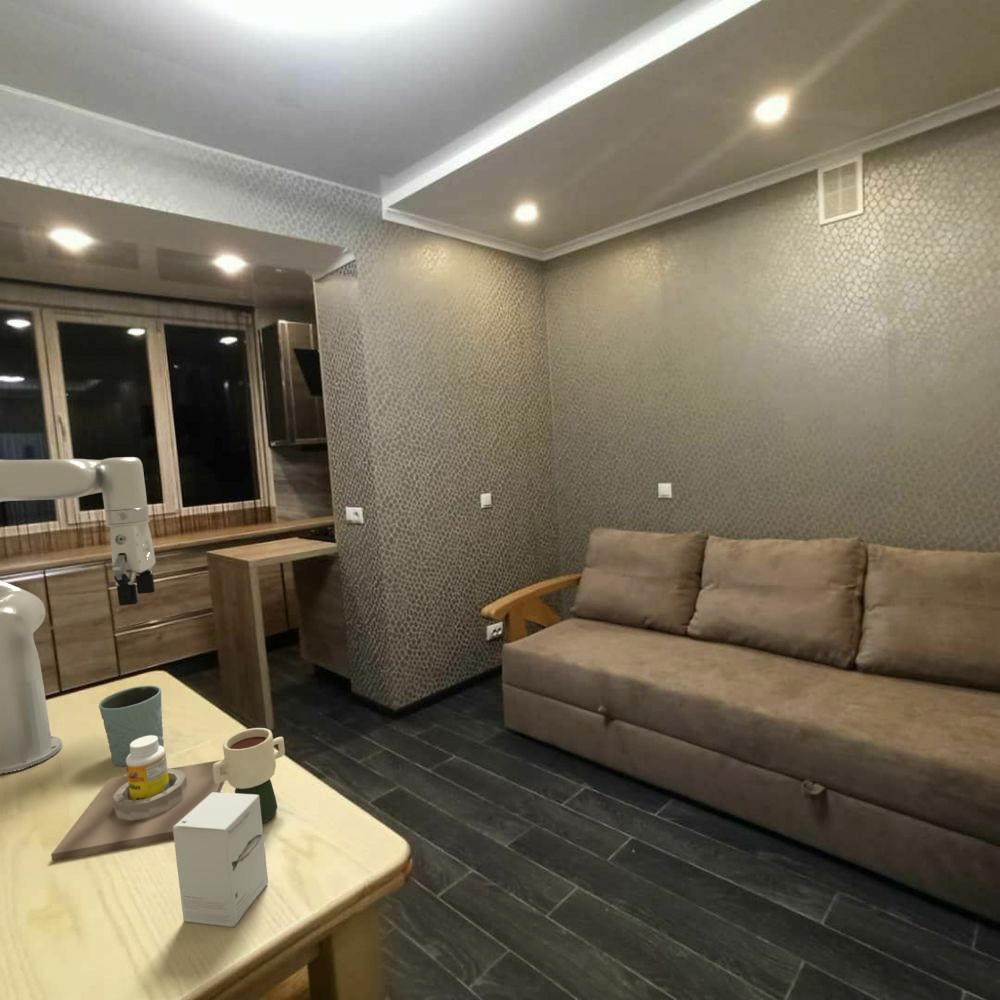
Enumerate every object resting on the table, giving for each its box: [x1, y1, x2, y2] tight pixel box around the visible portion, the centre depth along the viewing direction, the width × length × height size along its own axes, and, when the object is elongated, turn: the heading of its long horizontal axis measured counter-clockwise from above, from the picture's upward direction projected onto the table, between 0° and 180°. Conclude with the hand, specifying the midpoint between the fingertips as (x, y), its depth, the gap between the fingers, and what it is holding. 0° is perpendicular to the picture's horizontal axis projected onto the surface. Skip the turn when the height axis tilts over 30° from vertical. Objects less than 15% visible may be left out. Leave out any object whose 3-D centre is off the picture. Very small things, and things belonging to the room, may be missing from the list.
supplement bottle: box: [125, 735, 170, 801], centre depth 96 cm, size 6×6×10 cm
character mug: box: [213, 727, 286, 824], centre depth 91 cm, size 11×7×13 cm, turn 134°
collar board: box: [50, 759, 226, 862], centre depth 96 cm, size 20×20×4 cm
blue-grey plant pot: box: [98, 684, 165, 768], centre depth 113 cm, size 10×10×12 cm
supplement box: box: [173, 792, 269, 928], centre depth 74 cm, size 7×7×13 cm
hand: (137, 598), depth 123 cm, fingers open, 9 cm apart
